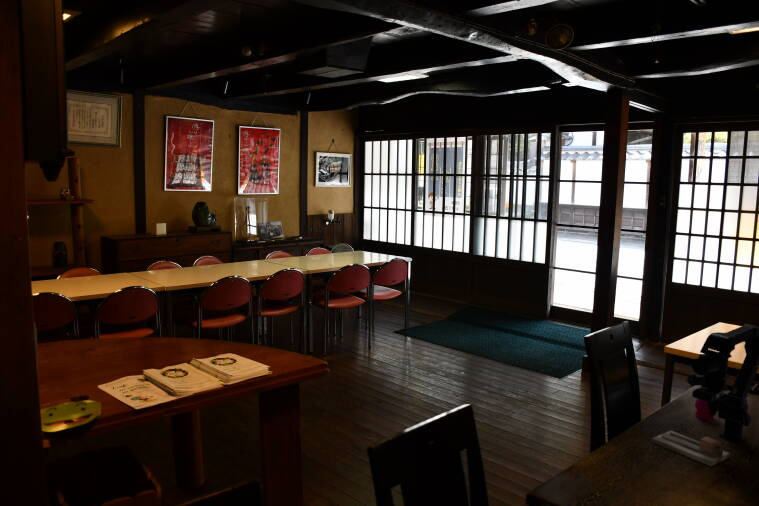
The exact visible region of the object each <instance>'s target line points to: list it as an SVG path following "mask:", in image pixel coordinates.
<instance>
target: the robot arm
mask: <svg viewBox="0 0 759 506" xmlns="http://www.w3.org/2000/svg"><path fill="white" fill-rule="evenodd" d="M742 343H744V344H743V348H744V352H745V357H744V360H743V362H742V364H741V366H740V369H739V371H738V374H737V377H736V378H735V382H734V383H731V382H729V381H727V379H730V375H729V374H728V366H729V359H731V358H732V357H733V356H732V354H731V353H732V352H734V351H735V349H736V346H737V345H740V344H742ZM699 353H700V354H698V357H697V358H695V359H693V361H692V363H691V368H692V370H693V371H694V374H692V373H691V374H688V376H687V380H686V383H688V385H689V386H690V387H694V386H700V385H702V387H703V388H701V387H698V388H695V389H694V390H692V393H691V397H692V398H694V399H696V400H697V399H700V400H703V401H706V402H707V403H708V407H709V411H710V415H712V416H714V417H715V416H716V414H717V413H718V418H719V419H721V420H724V423H723V426H724V427H723V432H722V433H719V434H718V436H719V437H721V438H723V439H726V440H728V441H731V442H735V443H740V442H743V441H744V440H747V437H746V436H743V432H744V427H749V426H750V425H751V423H752V416H751V415H750V413H749V403H748V400H747V398H748V395H749V392H750V389H751V387H752V384H753V382H754V380H755V377H756V376H757V373H758V370H759V326H758V325H754V324H749V323H744V324H743V325H742V326H741V325H740V326H739V327H737V328H735V329H732V330H729V331H727V332H720V331H718V332H717V331H716V332H712V333H710V334H709V335H708V336H707V337H706V340H705V341H704V344H703V345H702V346H701V349H700V350H699ZM704 388H707V389H708V390H707V389H704ZM726 391H729V392H728V393H725V392H726Z"/></svg>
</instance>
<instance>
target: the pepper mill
mask: <svg viewBox="0 0 759 506" xmlns="http://www.w3.org/2000/svg"><path fill="white" fill-rule="evenodd" d="M699 386H700V388H703V387H702V385H699ZM704 389H707V388H704ZM707 390H708V389H707ZM694 407H695V409H696V410H695V414H694V416H695V417H696V418H697V419H700V420H704V421H713V420H714V419H715V415H714V416H712V415H710V411H709V407H708V403H707V402H706V401H703V400H700V399H697V398H696V400H695V402H694Z"/></svg>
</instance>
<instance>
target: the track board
mask: <svg viewBox="0 0 759 506" xmlns="http://www.w3.org/2000/svg"><path fill="white" fill-rule="evenodd" d="M651 443H653V444H654V445H657V444H658V446H660V447H663V448H665V449H667V450H670V451H673V452H674V451H675V452H674V453H677V454H679V453H680V454H679V455H682V456H684V455H685V457H687V458H689V457H690V458H689V459H692V460H693V461H696V460H697V462H699V461H700V462H699V463H701V462H702V464H703V465H707V466H709V467H712V466H714V465H717V464H718V463H721V462H723V461H724V460H727V459H729V458H730V457H731V453H730V452H728V451H726V450H724V445H722V444H719V445H718V446H716V447H714V448H712V454H709V453H707V452H704V451H701V450H699V446H700V440H698V439H695V438H691V437H689V436H686V435H684V434H681V433H678V432H675V431H673V430H669V431H667V432H664V433H662V434H659V435H657V436H654V437H651Z"/></svg>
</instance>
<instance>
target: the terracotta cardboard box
mask: <svg viewBox="0 0 759 506" xmlns="http://www.w3.org/2000/svg"><path fill="white" fill-rule="evenodd" d="M699 441H700V446H699V450H701V451H704V452H707V453H709V454H712V448H714V447H716V446H719V445H720V440H717V439H715V438H712V437H709V436H705V437H702V438H700V439H699Z"/></svg>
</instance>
